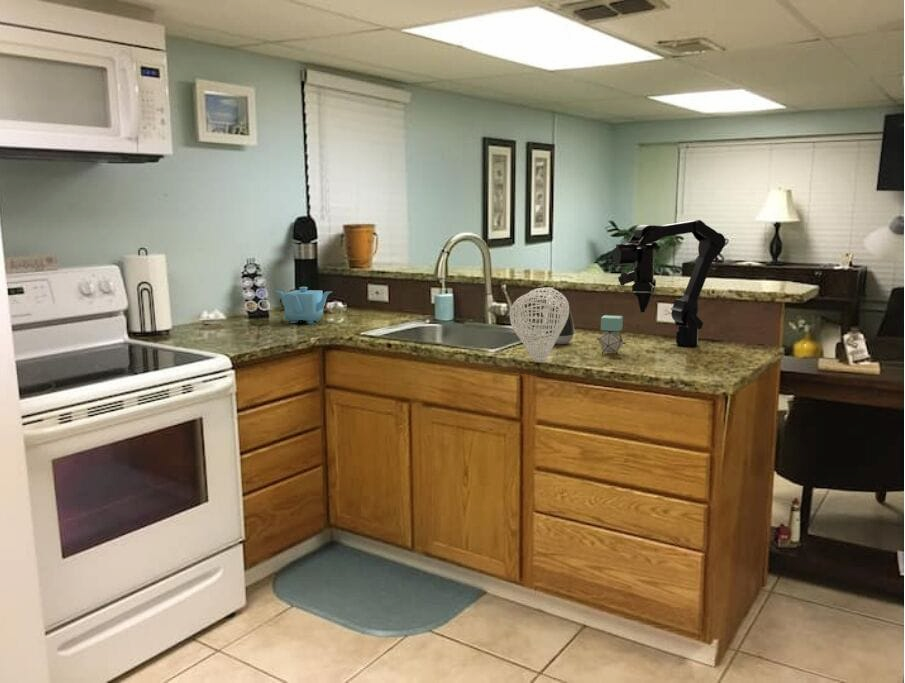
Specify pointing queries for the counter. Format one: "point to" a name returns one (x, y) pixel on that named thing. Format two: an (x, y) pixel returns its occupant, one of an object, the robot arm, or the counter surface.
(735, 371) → the counter surface
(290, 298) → the teakettle
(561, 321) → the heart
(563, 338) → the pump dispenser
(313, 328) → the counter surface
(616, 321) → the teal block
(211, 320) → the counter surface
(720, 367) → the counter surface
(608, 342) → the game die
